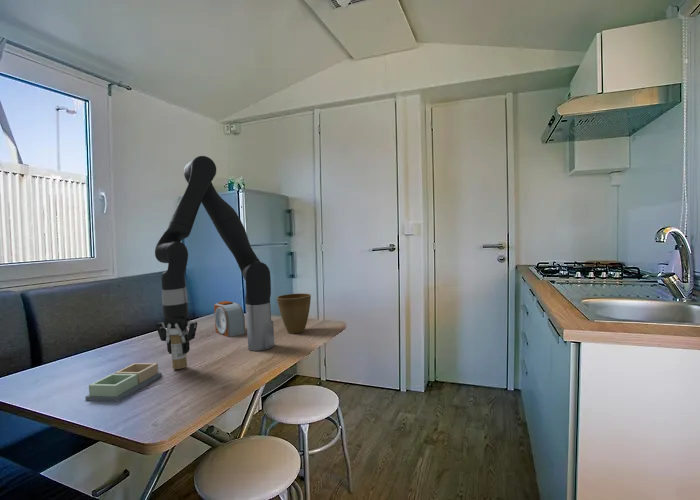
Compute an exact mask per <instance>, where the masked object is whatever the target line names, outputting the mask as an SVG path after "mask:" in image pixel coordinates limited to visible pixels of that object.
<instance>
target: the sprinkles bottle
mask: <svg viewBox="0 0 700 500" xmlns="http://www.w3.org/2000/svg"><path fill="white" fill-rule="evenodd" d="M184 332H185V331H183V333H184ZM170 336H171V352H172V354H171V360H172V369H173V370H182V369H185V368H186V367H187V366H188V362H187V353H186V354H183V349H182V343H183V342H182V339H181V337H180V336H179V334H178V329H176V328H172V329H170Z"/></svg>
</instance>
